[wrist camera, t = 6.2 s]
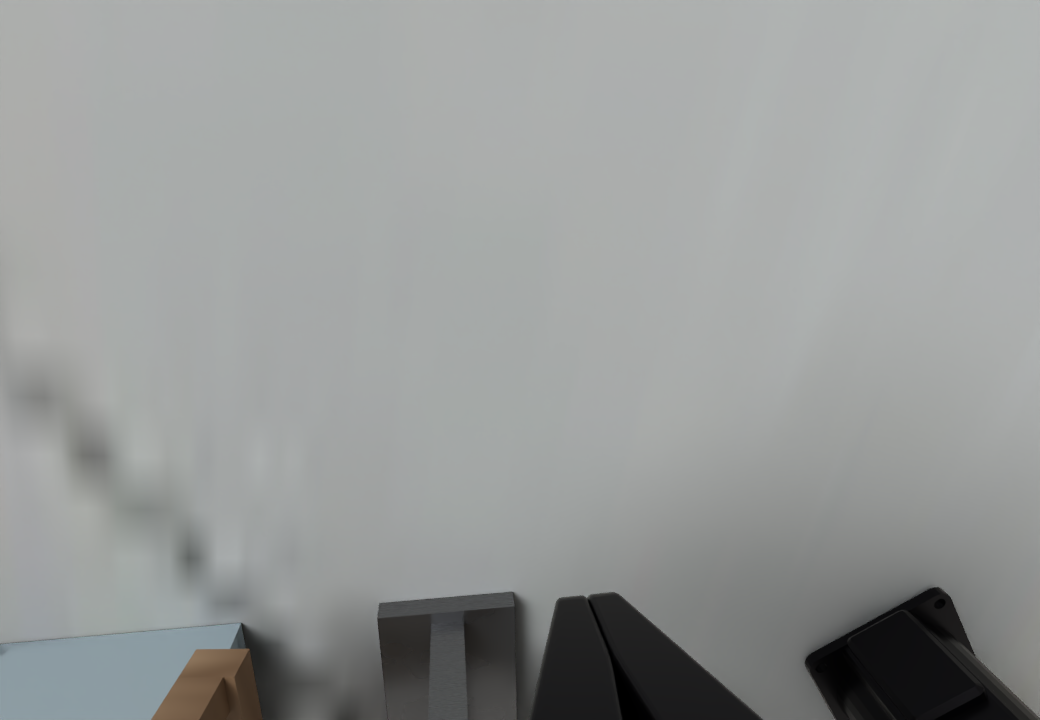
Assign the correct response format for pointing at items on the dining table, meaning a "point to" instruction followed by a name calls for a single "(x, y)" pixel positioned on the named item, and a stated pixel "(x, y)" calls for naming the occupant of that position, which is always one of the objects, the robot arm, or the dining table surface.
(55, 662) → the box
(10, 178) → the dining table surface
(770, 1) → the dining table surface
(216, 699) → the lever
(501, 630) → the pivot stand
